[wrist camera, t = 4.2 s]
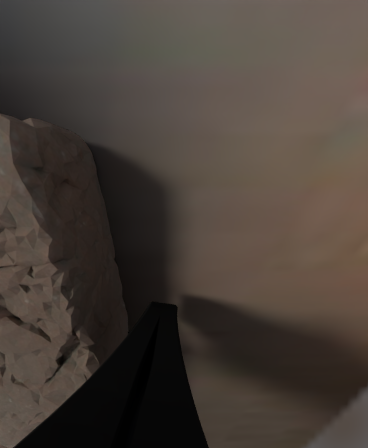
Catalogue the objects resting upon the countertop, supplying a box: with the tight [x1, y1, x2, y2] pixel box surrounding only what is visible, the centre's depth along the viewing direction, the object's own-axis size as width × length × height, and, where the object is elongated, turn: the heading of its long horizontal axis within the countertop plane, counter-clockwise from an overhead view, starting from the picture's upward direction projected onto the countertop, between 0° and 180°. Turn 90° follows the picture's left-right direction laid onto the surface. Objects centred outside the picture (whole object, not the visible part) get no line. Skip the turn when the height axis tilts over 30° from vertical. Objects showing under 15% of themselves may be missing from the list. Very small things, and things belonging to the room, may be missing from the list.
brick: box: [0, 114, 129, 448], centre depth 9 cm, size 17×8×5 cm, turn 4°
